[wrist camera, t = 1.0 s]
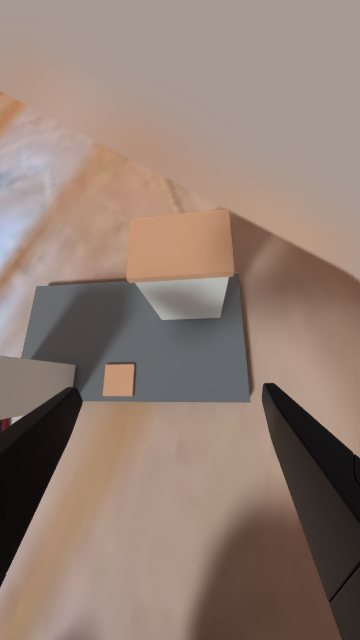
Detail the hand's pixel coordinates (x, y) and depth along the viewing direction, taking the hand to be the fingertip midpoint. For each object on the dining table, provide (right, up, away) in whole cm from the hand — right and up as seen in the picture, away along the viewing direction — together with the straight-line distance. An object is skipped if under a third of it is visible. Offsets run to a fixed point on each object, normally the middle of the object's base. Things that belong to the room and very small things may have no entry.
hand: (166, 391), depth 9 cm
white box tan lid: (+2, +5, +12) cm, 14 cm away
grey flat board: (-5, +1, +14) cm, 15 cm away
